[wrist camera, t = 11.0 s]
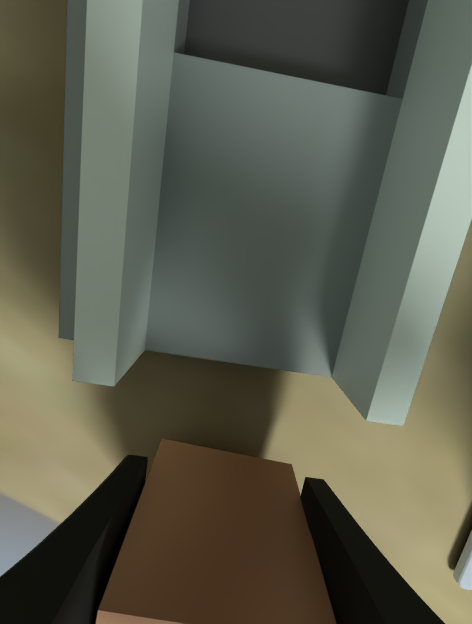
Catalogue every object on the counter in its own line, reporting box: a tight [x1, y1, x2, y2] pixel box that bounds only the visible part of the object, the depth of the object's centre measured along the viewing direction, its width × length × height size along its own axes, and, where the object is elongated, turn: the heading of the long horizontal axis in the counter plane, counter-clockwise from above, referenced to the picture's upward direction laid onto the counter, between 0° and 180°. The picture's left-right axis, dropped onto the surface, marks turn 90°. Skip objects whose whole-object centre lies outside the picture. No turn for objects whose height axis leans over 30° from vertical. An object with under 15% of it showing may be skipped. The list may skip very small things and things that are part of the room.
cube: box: [96, 439, 336, 624], centre depth 8 cm, size 5×5×5 cm
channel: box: [59, 0, 472, 426], centre depth 7 cm, size 12×16×4 cm
